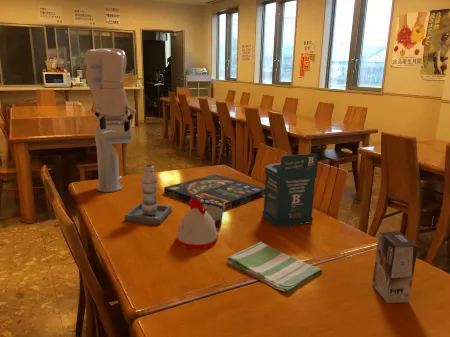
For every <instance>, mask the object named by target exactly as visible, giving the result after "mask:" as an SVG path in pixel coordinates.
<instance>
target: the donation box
mask: <svg viewBox="0 0 450 337" xmlns="http://www.w3.org/2000/svg"><path fill="white" fill-rule="evenodd" d="M318 162H319V155H318V153H305V154H291V155H290V154H288V155H282V156H281V158H280V162H278V163H277V162H276V163H269V164H267V165H266V166H265V167H264V173H265V182H264V188H265V196H263V197H264V198H263V199H264V200H263V201H264V202H263V210H262V214H261V215H262V217H263V218H264V219H265V220H266V221H268V222H269V223H271V224H272V225H273V226H274V227H275V228H277V229H278V228H282V227H283V226H284V227H290V226H289V225H291V226H297V225H296V224H299V225H302V224H301V223H305V224H307V223H306V222H312V223H313V221H314V218H313V217H314V216H313V207H314V206H313V204H314V194H315V184H316V178H317V177H318Z"/></svg>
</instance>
